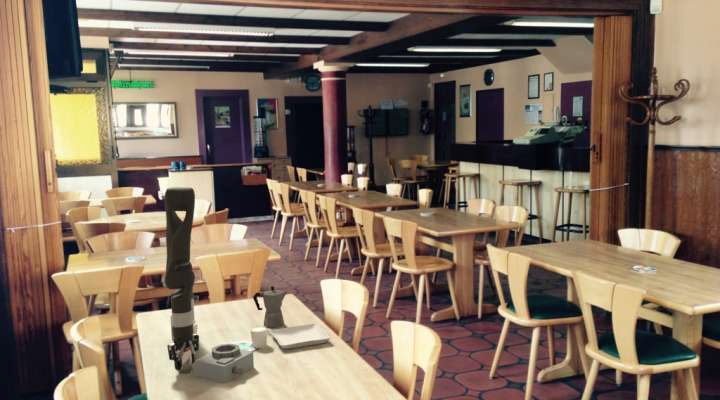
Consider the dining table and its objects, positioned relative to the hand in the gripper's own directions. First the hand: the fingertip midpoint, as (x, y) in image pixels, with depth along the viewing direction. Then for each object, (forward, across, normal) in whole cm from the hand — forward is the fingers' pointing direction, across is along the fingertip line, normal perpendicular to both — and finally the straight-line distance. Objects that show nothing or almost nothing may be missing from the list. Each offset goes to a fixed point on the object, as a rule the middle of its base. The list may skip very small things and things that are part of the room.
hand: (185, 366), depth 233 cm
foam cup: (+2, -12, -11) cm, 16 cm away
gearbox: (+2, -6, +15) cm, 17 cm away
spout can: (+2, 0, 0) cm, 2 cm away
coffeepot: (+2, -58, -4) cm, 58 cm away
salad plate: (+2, -46, +19) cm, 50 cm away
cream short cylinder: (+2, -34, +8) cm, 35 cm away
